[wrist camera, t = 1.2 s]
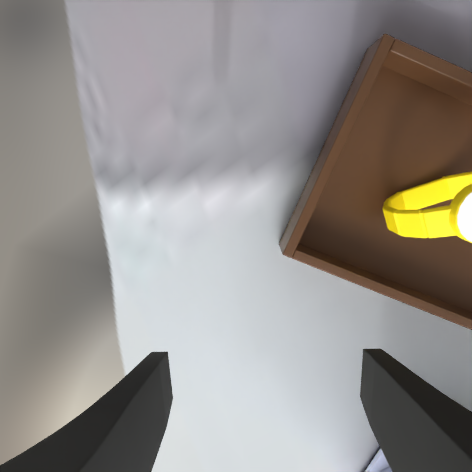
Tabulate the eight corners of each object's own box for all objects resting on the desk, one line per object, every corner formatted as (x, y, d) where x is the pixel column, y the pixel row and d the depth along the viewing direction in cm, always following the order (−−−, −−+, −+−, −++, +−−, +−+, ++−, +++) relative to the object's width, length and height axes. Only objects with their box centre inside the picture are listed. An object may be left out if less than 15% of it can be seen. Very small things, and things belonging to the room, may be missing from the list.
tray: (631, 166, 18) (685, 167, 16) (509, 336, 21) (540, 357, 19) (367, 48, 17) (384, 32, 15) (278, 244, 20) (282, 254, 18)
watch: (466, 155, 18) (568, 154, 12) (474, 200, 19) (576, 219, 13) (365, 191, 19) (416, 206, 13) (376, 233, 19) (431, 265, 14)
